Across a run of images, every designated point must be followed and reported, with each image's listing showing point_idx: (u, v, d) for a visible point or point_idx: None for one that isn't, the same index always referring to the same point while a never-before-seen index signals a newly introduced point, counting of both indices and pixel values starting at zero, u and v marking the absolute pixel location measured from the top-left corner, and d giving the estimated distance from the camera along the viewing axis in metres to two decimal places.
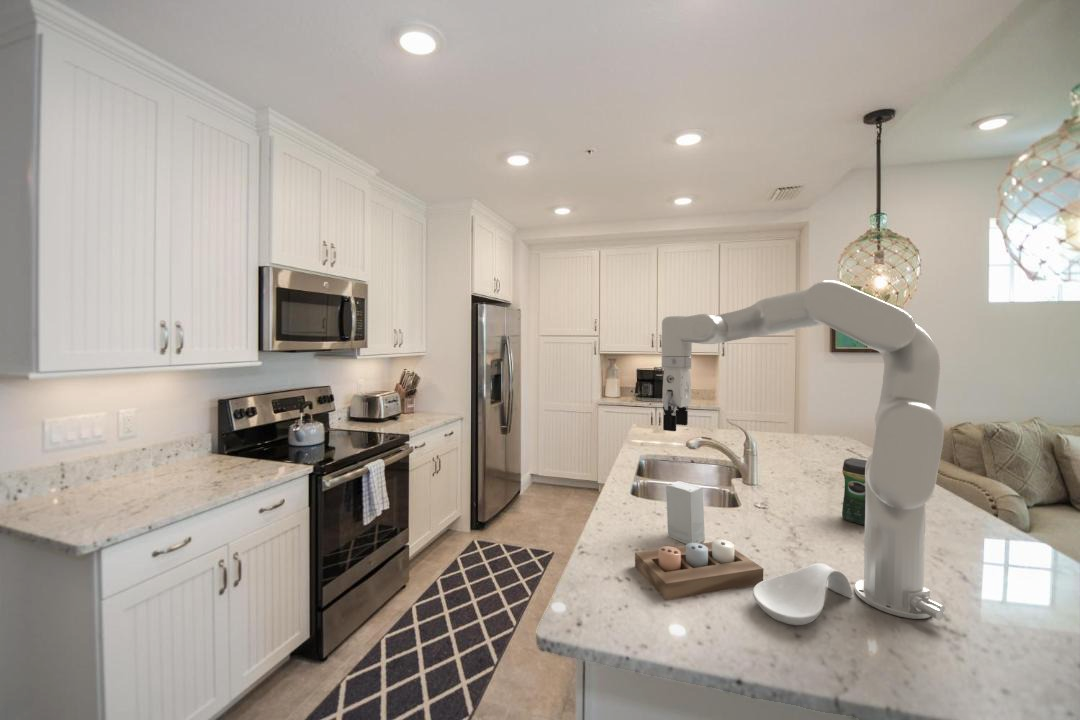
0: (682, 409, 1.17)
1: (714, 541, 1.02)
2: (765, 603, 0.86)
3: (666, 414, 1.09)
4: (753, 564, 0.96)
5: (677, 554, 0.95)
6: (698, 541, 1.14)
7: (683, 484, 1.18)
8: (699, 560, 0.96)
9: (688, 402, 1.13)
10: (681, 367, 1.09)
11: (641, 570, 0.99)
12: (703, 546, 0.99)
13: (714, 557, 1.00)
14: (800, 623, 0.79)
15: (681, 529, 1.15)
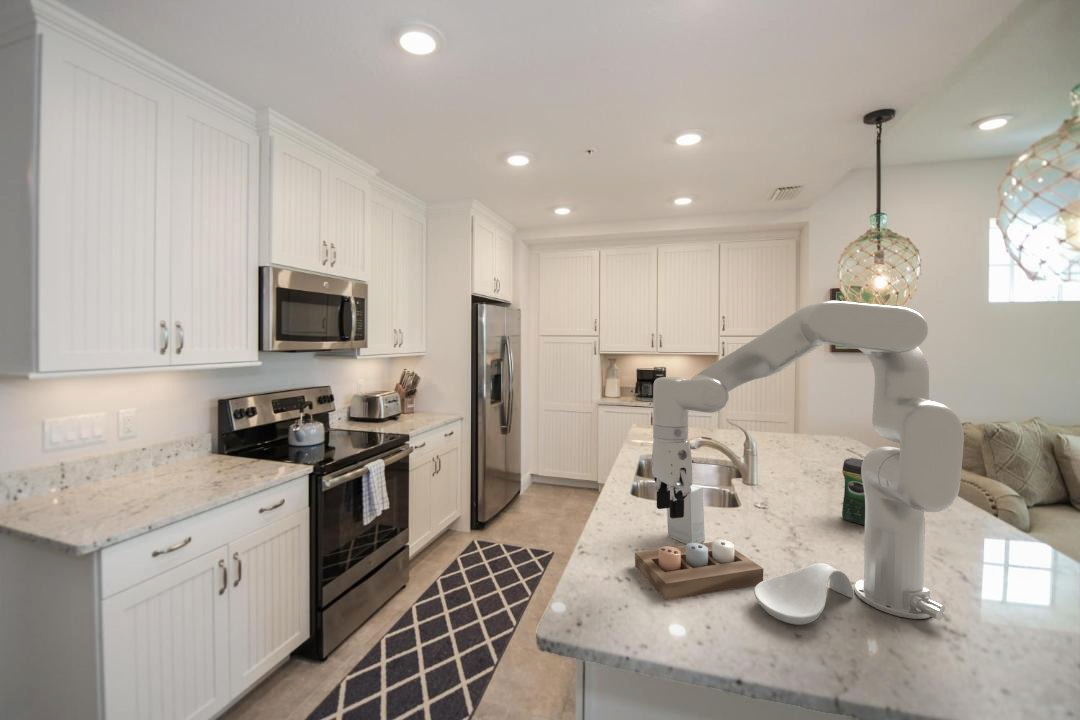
0: (665, 488, 0.99)
1: (714, 541, 1.02)
2: (766, 603, 0.86)
3: (678, 500, 0.92)
4: (753, 564, 0.96)
5: (677, 554, 0.95)
6: (698, 541, 1.14)
7: None
8: (699, 560, 0.96)
9: None
10: (687, 438, 0.94)
11: (641, 570, 0.99)
12: (703, 546, 0.99)
13: (714, 557, 1.00)
14: (801, 623, 0.79)
15: (681, 529, 1.15)
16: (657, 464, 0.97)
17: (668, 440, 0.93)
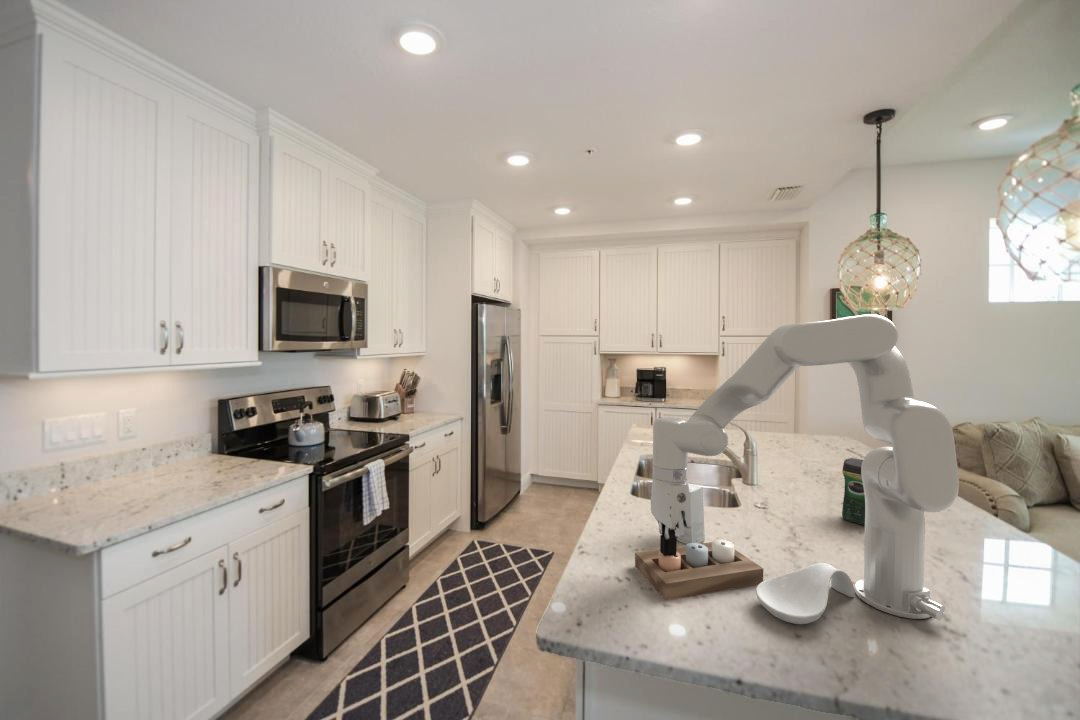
0: None
1: (714, 541, 1.02)
2: (768, 602, 0.86)
3: (670, 538, 0.95)
4: (753, 564, 0.96)
5: (677, 557, 0.95)
6: (698, 541, 1.14)
7: None
8: (699, 560, 0.96)
9: None
10: (686, 480, 0.94)
11: (641, 570, 0.99)
12: (703, 546, 0.99)
13: (714, 557, 1.00)
14: (803, 622, 0.79)
15: None
16: (656, 504, 0.97)
17: (667, 482, 0.93)
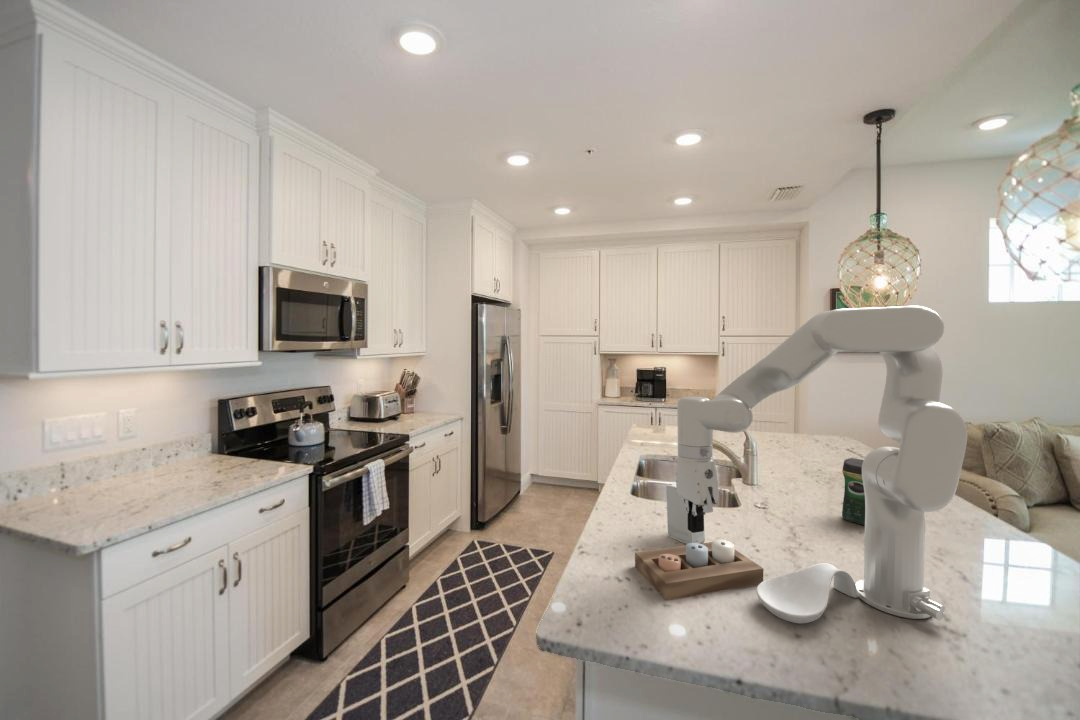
0: None
1: (714, 541, 1.02)
2: (769, 601, 0.86)
3: (698, 515, 0.96)
4: (753, 564, 0.96)
5: (677, 562, 0.95)
6: (698, 541, 1.14)
7: None
8: (699, 560, 0.96)
9: None
10: (712, 457, 0.95)
11: (641, 570, 0.99)
12: (703, 546, 0.99)
13: (714, 557, 1.00)
14: (803, 621, 0.79)
15: (681, 529, 1.15)
16: (682, 482, 0.99)
17: (694, 459, 0.94)
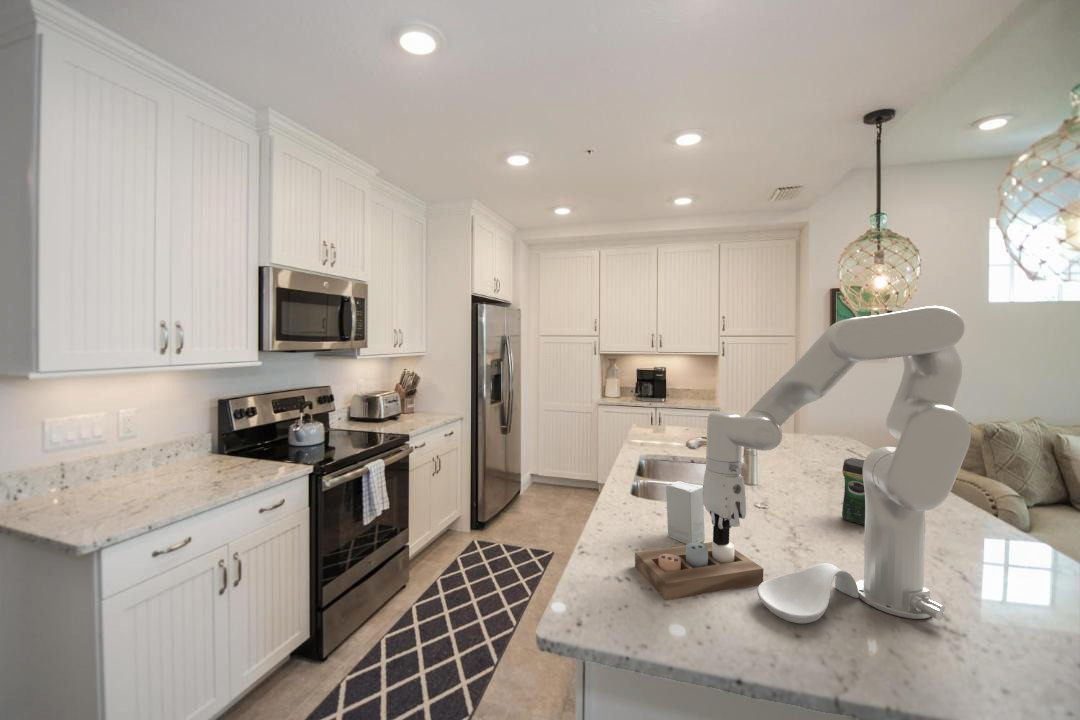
0: None
1: None
2: (770, 601, 0.86)
3: (724, 528, 0.98)
4: (753, 564, 0.96)
5: (677, 562, 0.95)
6: (698, 541, 1.14)
7: (683, 484, 1.18)
8: (699, 560, 0.96)
9: None
10: (740, 472, 0.97)
11: (641, 570, 0.99)
12: (703, 546, 0.99)
13: (714, 557, 1.00)
14: (804, 621, 0.79)
15: (681, 529, 1.15)
16: (709, 495, 1.01)
17: (723, 474, 0.96)
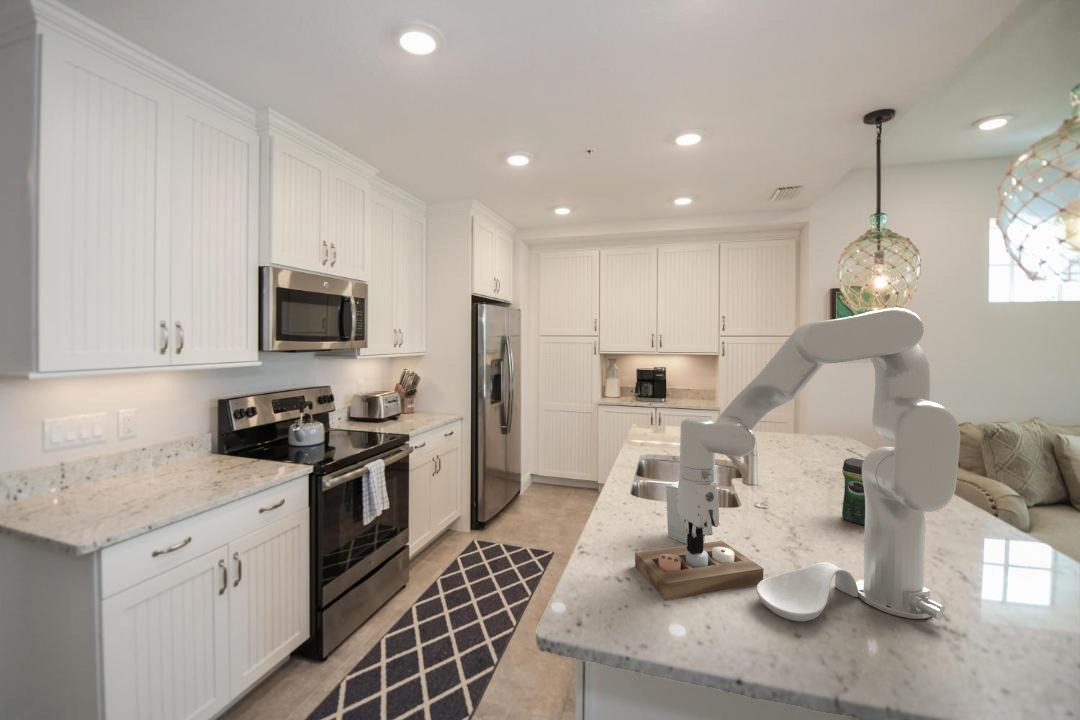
0: None
1: (714, 548, 1.02)
2: (768, 599, 0.87)
3: (698, 536, 0.97)
4: (753, 564, 0.96)
5: (677, 562, 0.95)
6: None
7: None
8: (698, 566, 0.96)
9: None
10: (713, 480, 0.96)
11: (641, 570, 0.99)
12: (703, 551, 0.99)
13: None
14: (802, 619, 0.80)
15: (681, 529, 1.15)
16: (683, 503, 0.99)
17: (695, 482, 0.95)
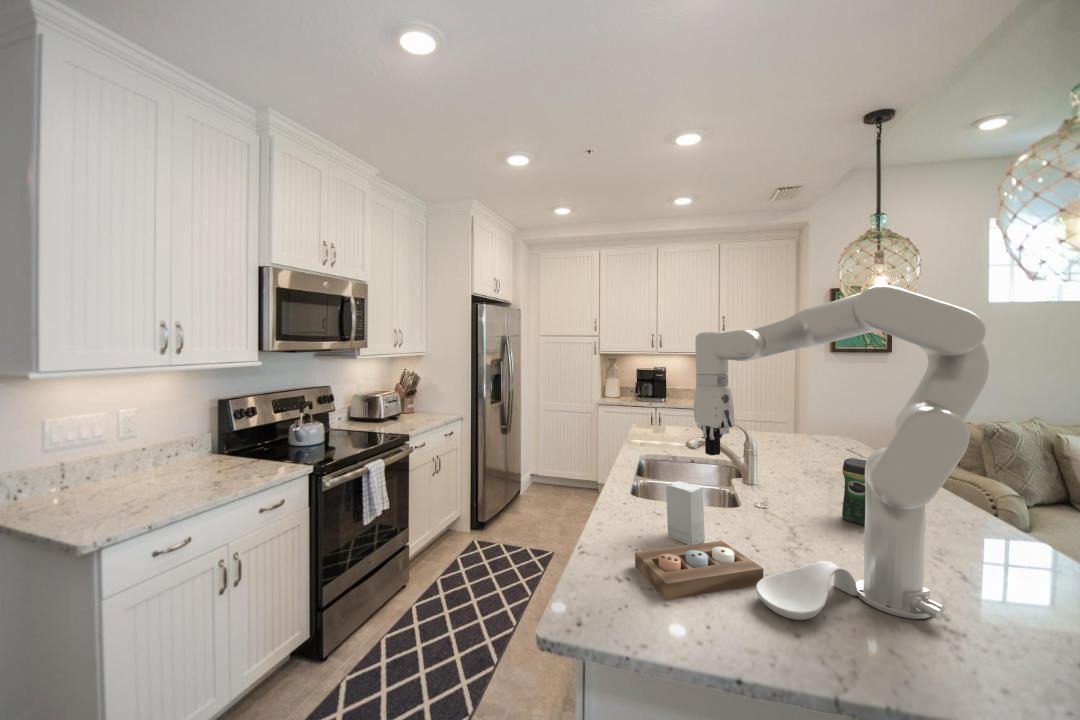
0: None
1: (714, 548, 1.02)
2: (768, 598, 0.87)
3: (715, 438, 1.06)
4: (753, 564, 0.96)
5: (677, 562, 0.95)
6: (698, 541, 1.14)
7: (683, 484, 1.18)
8: None
9: None
10: (727, 385, 1.05)
11: (641, 570, 0.99)
12: (703, 554, 0.99)
13: None
14: (801, 618, 0.80)
15: (681, 529, 1.15)
16: (700, 410, 1.08)
17: (712, 386, 1.04)
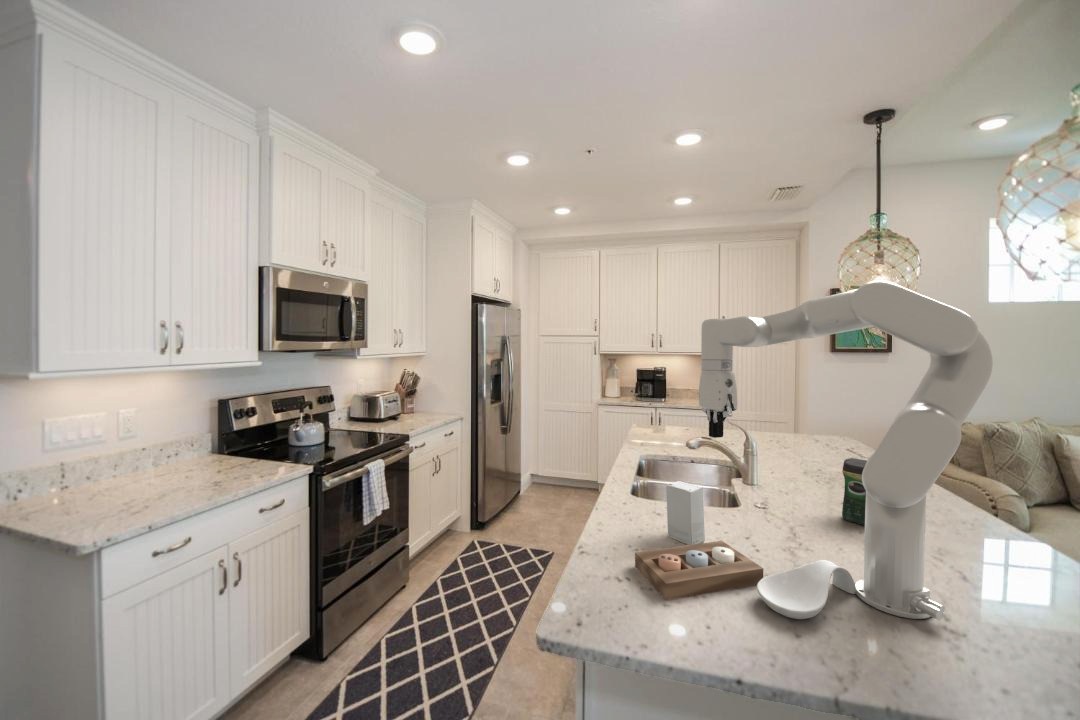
0: None
1: (714, 548, 1.02)
2: (769, 598, 0.87)
3: (718, 421, 1.10)
4: (753, 564, 0.96)
5: (677, 562, 0.95)
6: (698, 541, 1.14)
7: (683, 484, 1.18)
8: None
9: None
10: (731, 370, 1.09)
11: (641, 570, 0.99)
12: (703, 554, 0.99)
13: None
14: (803, 617, 0.81)
15: (681, 529, 1.15)
16: (705, 394, 1.12)
17: (716, 371, 1.08)
